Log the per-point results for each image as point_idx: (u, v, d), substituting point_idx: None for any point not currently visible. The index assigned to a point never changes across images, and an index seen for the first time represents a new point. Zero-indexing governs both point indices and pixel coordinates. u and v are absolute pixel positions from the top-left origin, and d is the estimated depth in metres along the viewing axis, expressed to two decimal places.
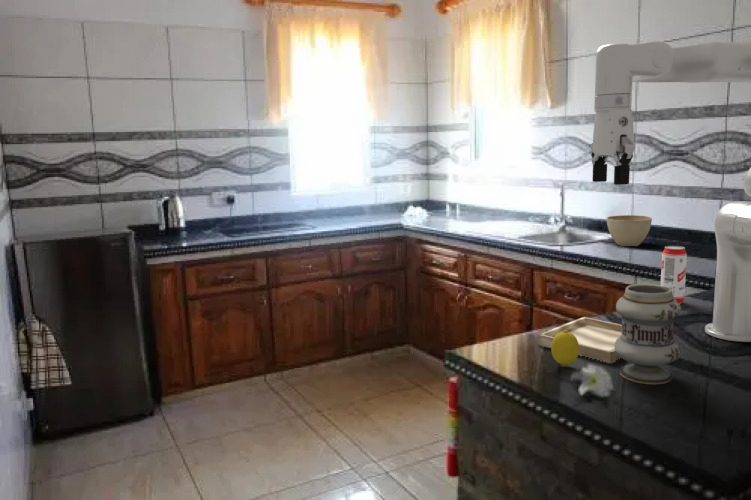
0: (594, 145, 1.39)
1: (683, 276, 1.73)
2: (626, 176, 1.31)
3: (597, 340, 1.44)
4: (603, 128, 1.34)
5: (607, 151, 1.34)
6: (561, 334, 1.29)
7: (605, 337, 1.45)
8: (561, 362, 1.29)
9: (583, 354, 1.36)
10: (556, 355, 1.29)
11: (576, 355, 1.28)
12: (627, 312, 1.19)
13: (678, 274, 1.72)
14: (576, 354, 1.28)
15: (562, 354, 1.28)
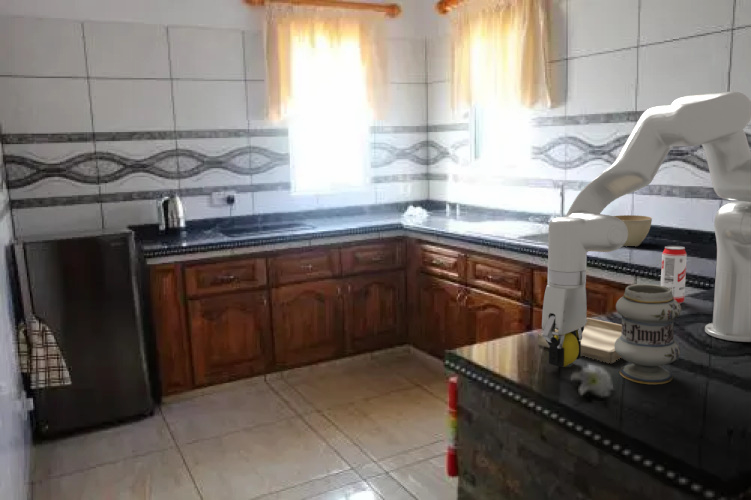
0: (565, 324, 1.25)
1: (683, 276, 1.73)
2: None
3: (597, 340, 1.44)
4: (579, 303, 1.27)
5: (580, 324, 1.29)
6: None
7: (605, 337, 1.45)
8: None
9: (583, 354, 1.36)
10: None
11: (576, 355, 1.28)
12: (627, 312, 1.19)
13: (678, 274, 1.72)
14: (576, 354, 1.28)
15: None
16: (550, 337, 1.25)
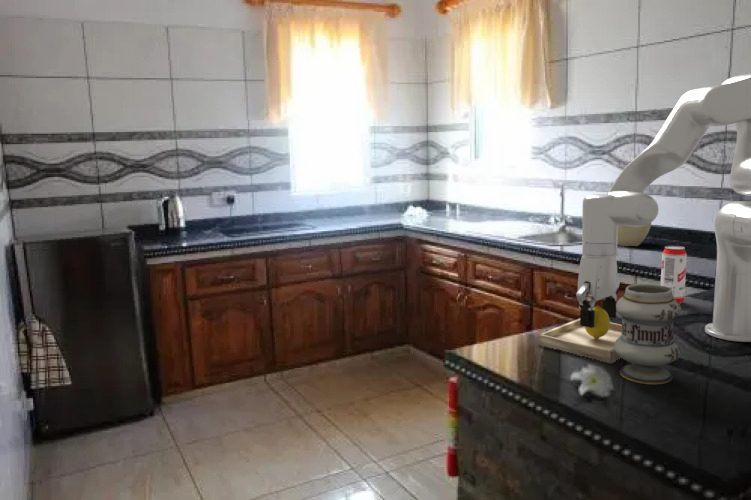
0: (599, 291, 1.38)
1: (683, 276, 1.73)
2: None
3: (597, 340, 1.44)
4: (611, 271, 1.40)
5: (612, 291, 1.42)
6: (594, 309, 1.42)
7: (605, 337, 1.45)
8: (593, 335, 1.42)
9: (583, 354, 1.36)
10: (589, 329, 1.42)
11: (607, 328, 1.42)
12: (627, 312, 1.19)
13: (678, 274, 1.72)
14: (607, 327, 1.42)
15: (594, 327, 1.41)
16: (583, 298, 1.37)
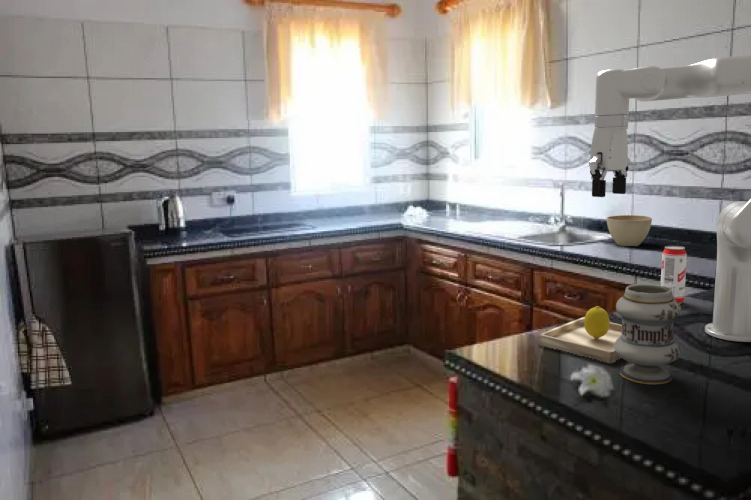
0: (611, 161, 1.45)
1: (683, 276, 1.73)
2: None
3: (597, 340, 1.44)
4: (622, 145, 1.48)
5: (623, 165, 1.50)
6: (594, 309, 1.42)
7: (605, 337, 1.45)
8: (593, 335, 1.42)
9: (583, 354, 1.36)
10: (589, 329, 1.42)
11: (607, 328, 1.42)
12: (627, 312, 1.19)
13: (678, 274, 1.72)
14: (607, 327, 1.42)
15: (594, 327, 1.41)
16: (595, 166, 1.44)
